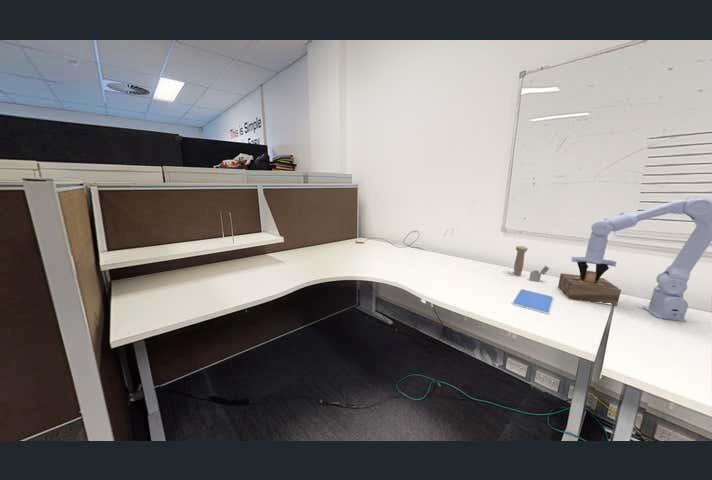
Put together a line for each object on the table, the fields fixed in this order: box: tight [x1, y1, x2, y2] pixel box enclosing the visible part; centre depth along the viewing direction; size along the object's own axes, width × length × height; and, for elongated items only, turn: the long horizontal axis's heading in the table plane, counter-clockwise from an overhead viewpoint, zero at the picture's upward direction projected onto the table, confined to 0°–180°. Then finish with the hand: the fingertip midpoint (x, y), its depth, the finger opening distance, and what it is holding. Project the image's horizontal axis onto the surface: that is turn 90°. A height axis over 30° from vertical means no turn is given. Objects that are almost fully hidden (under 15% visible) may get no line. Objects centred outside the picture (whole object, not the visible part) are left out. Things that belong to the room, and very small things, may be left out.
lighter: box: [529, 265, 550, 282], centre depth 131 cm, size 7×2×8 cm, turn 74°
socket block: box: [557, 272, 622, 307], centre depth 115 cm, size 14×16×7 cm
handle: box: [513, 245, 528, 276], centre depth 138 cm, size 5×6×15 cm
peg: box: [582, 270, 597, 283], centre depth 114 cm, size 4×4×6 cm
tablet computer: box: [511, 289, 555, 315], centre depth 109 cm, size 19×13×1 cm, turn 139°
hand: (588, 279), depth 114 cm, fingers open, 4 cm apart
